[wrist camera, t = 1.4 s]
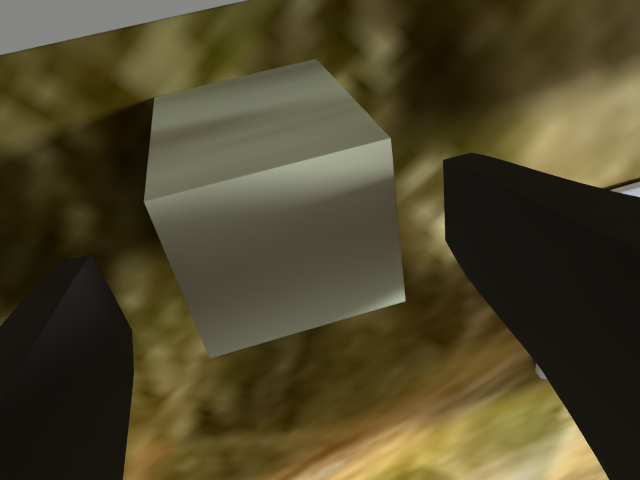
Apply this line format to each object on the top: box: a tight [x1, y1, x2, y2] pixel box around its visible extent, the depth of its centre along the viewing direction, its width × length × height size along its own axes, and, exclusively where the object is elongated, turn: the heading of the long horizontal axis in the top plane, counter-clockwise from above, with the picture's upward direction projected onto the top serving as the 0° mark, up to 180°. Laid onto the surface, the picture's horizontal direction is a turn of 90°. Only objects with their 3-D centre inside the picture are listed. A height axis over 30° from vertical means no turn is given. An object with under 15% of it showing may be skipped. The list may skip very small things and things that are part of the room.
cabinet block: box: [144, 59, 405, 358], centre depth 13 cm, size 4×4×6 cm
